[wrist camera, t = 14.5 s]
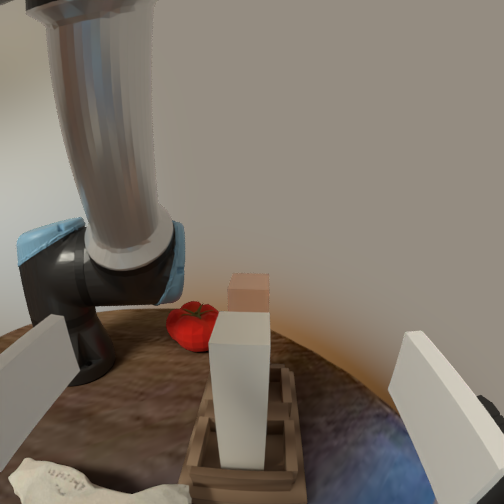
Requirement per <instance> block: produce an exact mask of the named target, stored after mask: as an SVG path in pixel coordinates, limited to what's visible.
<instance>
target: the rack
mask: <svg viewBox="0 0 504 504" xmlns="http://www.w3.org/2000/svg"><path fill="white" fill-rule="evenodd" d="M178 484H184V485H189V494H190V496H191V498H192V500H191V503H192V504H307V494H306V483H305V472H304V462H303V452H302V443H301V433H300V424H299V415H298V406H297V398H296V389H295V381H294V373H293V372H289V368H285V364H270V367H269V389H268V408H267V426H266V443H265V459H264V471H243V470H228V469H221V463H220V456H219V448H218V440H217V431H216V422H215V413H214V403H213V393H212V382H211V370H210V373H209V377H208V380H207V383H206V387H205V390H204V394H203V397H202V401H201V404H200V408H199V411H198V415H197V418H196V422H195V425H194V429H193V432H192V436H191V439H190V443H189V446H188V450H187V453H186V457H185V460H184V464H183V467H182V471H181V475H180V478H179V482H178Z"/></svg>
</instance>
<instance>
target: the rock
mask: <svg viewBox="0 0 504 504" xmlns="http://www.w3.org/2000/svg"><path fill="white" fill-rule="evenodd" d="M8 478H9V481H10V483H11V484H12V486H13V488H14V493H15V494H16V495H18V496H19V497H20V499H21V502H22V504H191V500H192V498H191V496H190V494H189V485H184V484H163V485H159V486H155V487H152V488H149V489H146V490H143V491H140V492H137V493H134V494H127V493H123V492H118V491H114V490H110V489H107V488H104V487H100V486H97V485H95V484H92V483H91V482H90V481H89V479H88V478H87V477H86V476H85V475H84V474H83V473H82V472H80V471H78V470H76V469H74V468H71V467H69V466H64V465H59V464H55V463H53V462H48V461H35V460H33V459H31V458H25V459H24V460H23V462H22V463H21V465H20V466H19V468H18V469H17V470H16V471H15V472H14V473H12V474H11V475H10V476H9V477H8Z"/></svg>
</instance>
